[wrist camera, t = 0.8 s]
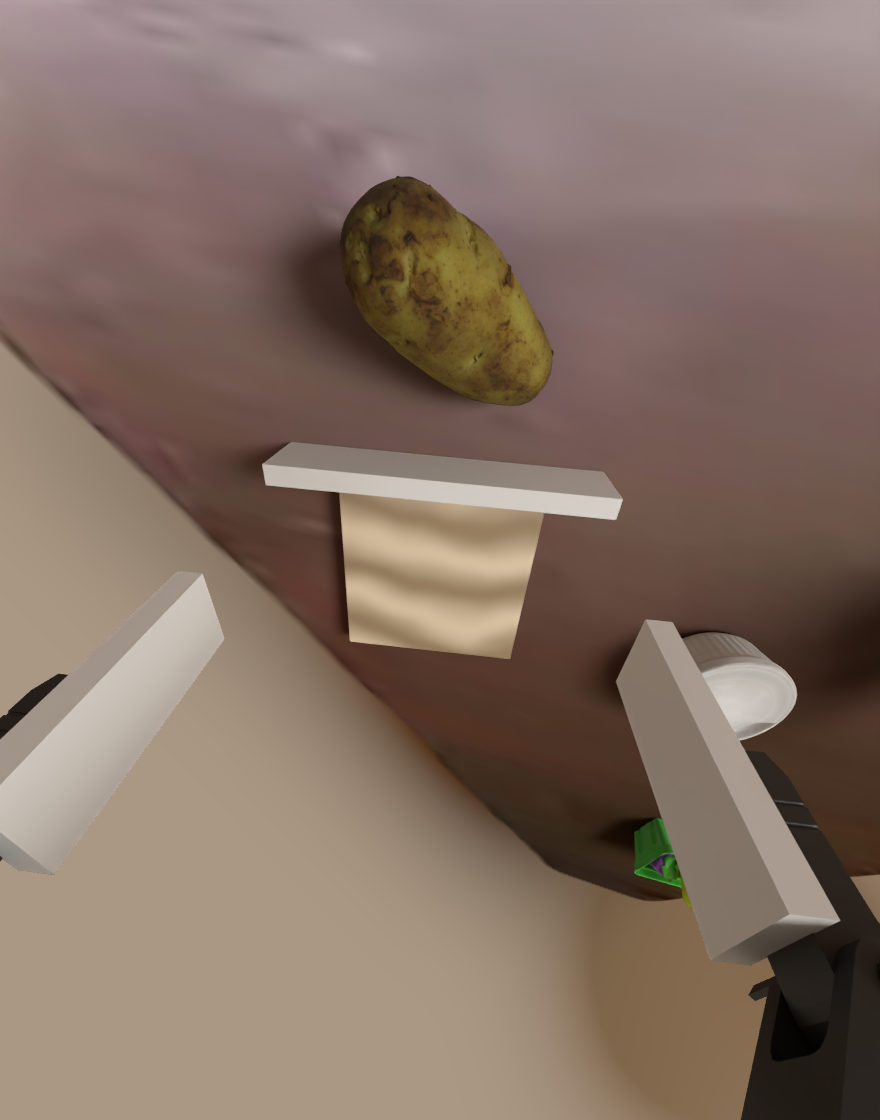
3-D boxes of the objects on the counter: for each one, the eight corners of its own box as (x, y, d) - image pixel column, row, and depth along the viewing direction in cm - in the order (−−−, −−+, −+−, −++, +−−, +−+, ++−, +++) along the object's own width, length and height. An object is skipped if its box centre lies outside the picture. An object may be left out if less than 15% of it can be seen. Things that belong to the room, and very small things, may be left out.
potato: (452, 436, 30) (444, 475, 23) (344, 251, 25) (293, 235, 18) (558, 373, 27) (583, 398, 21) (463, 149, 22) (455, 83, 15)
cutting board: (343, 474, 32) (338, 481, 31) (544, 494, 32) (546, 502, 31) (353, 630, 42) (350, 641, 40) (508, 647, 41) (509, 658, 40)
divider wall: (291, 441, 31) (262, 464, 27) (603, 471, 31) (622, 499, 26) (293, 460, 32) (265, 485, 28) (597, 490, 31) (615, 519, 27)
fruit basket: (620, 833, 60) (646, 933, 50) (659, 806, 55) (696, 912, 46) (685, 852, 61) (723, 953, 52) (729, 828, 57) (779, 934, 47)
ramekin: (664, 712, 45) (685, 758, 40) (621, 652, 40) (638, 695, 36) (777, 676, 41) (813, 722, 36) (741, 603, 36) (778, 646, 32)
